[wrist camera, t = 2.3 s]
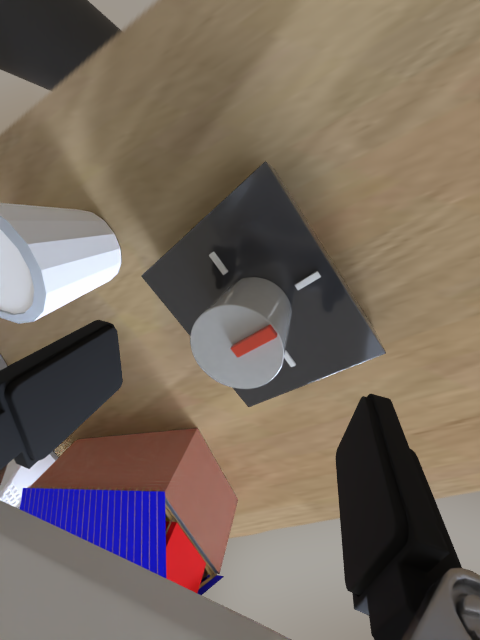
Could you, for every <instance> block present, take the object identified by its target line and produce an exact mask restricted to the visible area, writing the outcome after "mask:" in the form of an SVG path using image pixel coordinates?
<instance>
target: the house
mask: <svg viewBox="0 0 480 640" xmlns="http://www.w3.org/2000/svg"><path fill="white" fill-rule="evenodd" d="M237 502H238V499H237V497H236V495H235V494H234V492H233V490H232V488H231V486H230V485H229V483H228V481H227V479H226V478H225V476H224V474H223V472H222V471H221V469H220V467H219V465H218V463H217V462H216V460H215V458H214V456H213V455H212V453H211V451H210V449H209V448H208V446H207V444H206V442H205V440H204V439H203V437H202V435H201V433H200V432H199V430H198V428H194V429H183V430H173V431H162V432H151V433H140V434H129V435H119V436H108V437H97V438H86V439H77V440H76V441H75V442H74V443H73V444H72V445H71V446H70V447H69V448H68V449H67V450H66V451H65V452H64V453H63V454H62V455H61V456H60V457H59V458H58V459H57V460H56V461H55V462H54V463H53V464H52V465H51V466H50V467H49V468H48V469H47V470H46V471H45V472H44V473H43V474H42V475H41V476H40V477H39V478H38V479H37V480H36V481H35V482H34V483H33V484H32V485H31V486H29V487H28V488H23V491H22V497H21V504H20V510H22V511H24V512H27V513H29V514H31V515H33V516H35V517H37V518H39V519H42V520H44V521H46V522H48V523H50V524H52V525H54V526H56V527H58V528H61V529H63V530H65V531H67V532H69V533H71V534H73V535H75V536H78V537H80V538H82V539H84V540H86V541H88V542H90V543H92V544H95V545H97V546H99V547H101V548H103V549H105V550H107V551H109V552H111V553H114V554H116V555H118V556H120V557H122V558H124V559H126V560H128V561H130V562H133V563H135V564H137V565H139V566H141V567H143V568H145V569H147V570H149V571H151V572H154V573H156V574H158V575H160V576H162V577H164V578H166V579H168V580H170V581H172V582H174V583H177V584H179V585H181V586H183V587H185V588H187V589H189V590H191V591H193V592H195V593H197V594H199V595H202V594H203V593H205V592H206V591H207V590H208V589H209V588H211V587H212V586H213V585H214V584H215V583H217V582H218V581H219V580H220V579H221V578H223V576H218V575H217V574H219V573H220V570H221V566H222V561H223V557H224V554H225V550H226V546H227V542H228V538H229V534H230V530H231V526H232V522H233V518H234V514H235V510H236V506H237Z"/></svg>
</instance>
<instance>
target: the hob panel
mask: <svg viewBox="0 0 480 640" xmlns="http://www.w3.org/2000/svg"><path fill="white" fill-rule="evenodd" d="M142 277H143V279H144V280H145V281H146V282H147V284H148V285H149V286H150V287H151V288H152V290H153V291H154V292H155V293H156V295H157V296H158V297H159V298H160V299H161V301H162V302H163V303H164V304H165V306H166V307H167V308H168V309H169V311H170V312H171V313H172V314H173V315H174V317H175V318H176V319H177V320H178V322H179V323H180V324H181V325H182V326H183V328H184V329H185V330H186V331H187V333H188V334H189V335H190V336H191V331H192V327H193V325H194V323H195V321H196V320H197V318H198V317H199V316H200V315H201V314H202V313H203V312H204V311H205V310H206V309H207V308H208V307H209V306H210V305H211V304H212V303H213V302H214V301H215V300H216V299H217V298H218V297H219V296H220V295H221V294H222V293H223V292H224V291H225V290H226V289H227V288H228V287H229V286H230V285H232V284H233V283H234V282H236V281H238V280H240V279H243V278H249V277H257V278H263V279H266V280H269V281H271V282H273V283H274V284H276V285H277V286H278V287H280V288H281V289H282V290H283V292H284V293H285V294H286V296H287V298H288V300H289V302H290V305H291V310H292V318H291V323H290V329H289V334H288V339H287V344H286V350H285V355H284V360H283V364H282V367H281V369H280V371H279V372H278V374H277V375H276V376H275V377H274V378H273V379H272V380H271V381H269V382H268V383H266V384H264V385H262V386H259V387H256V388H251V389H239V388H233V387H232V388H233V389H234V390H235V391H236V393H237V394H238V395H239V396H240V397H241V399H242V400H243V401H244V402H245V404H246V405H247V406H248V407H251V406H253V405H256V404H258V403H261V402H263V401H266V400H268V399H271V398H273V397H276V396H279V395H281V394H284V393H286V392H289V391H291V390H294V389H296V388H299V387H302V386H304V385H307V384H309V383H312V382H314V381H317V380H319V379H322V378H324V377H327V376H330V375H332V374H335V373H337V372H340V371H342V370H345V369H347V368H350V367H352V366H355V365H358V364H360V363H363V362H365V361H368V360H370V359H373V358H375V357H378V356H380V355H383V354H385V353H386V352H385V350H384V348H383V346H382V344H381V342H380V339H379V337H378V335H377V333H376V331H375V329H374V328H373V326H372V324H371V323H370V321H369V320H368V318H367V316H366V315H365V313H364V312H363V310H362V308H361V307H360V305H359V304H358V302H357V300H356V299H355V297H354V295H353V294H352V292H351V291H350V289H349V287H348V286H347V284H346V283H345V281H344V279H343V278H342V276H341V275H340V273H339V271H338V270H337V268H336V267H335V265H334V263H333V262H332V260H331V259H330V257H329V255H328V254H327V252H326V250H325V249H324V247H323V246H322V244H321V242H320V241H319V239H318V238H317V236H316V234H315V233H314V231H313V230H312V228H311V226H310V225H309V223H308V222H307V220H306V218H305V217H304V215H303V214H302V212H301V210H300V209H299V207H298V206H297V204H296V202H295V201H294V199H293V197H292V196H291V194H290V193H289V191H288V189H287V188H286V186H285V185H284V183H283V181H282V180H281V178H280V177H279V175H278V173H277V172H276V170H275V169H274V168H273V167H272V166H271V165H270V164H268V163H267V162H266V161H265V162H264V163H263V164H262V165H261V166H260V167H258V168H257V169H256V170H255V171H254V172H253V173H252V174H251V175H250V176H249V177H248V178H247V179H246V180H244V181H243V182H242V183H241V184H240V185H239V186H238V187H237V188H236V189H235V190H234V191H233V192H231V193H230V194H229V195H228V196H227V197H226V198H225V199H224V200H223V201H222V202H221V203H220V204H219V205H217V206H216V207H215V208H214V209H213V210H212V211H211V212H210V213H209V214H208V215H207V216H206V217H204V218H203V219H202V220H201V221H200V222H199V223H198V224H197V225H196V226H195V227H194V228H193V229H192V230H190V231H189V232H188V233H187V234H186V235H185V236H184V237H183V238H182V239H181V240H180V241H179V242H177V243H176V244H175V245H174V246H173V247H172V248H171V249H170V250H169V251H168V252H167V253H166V254H164V255H163V256H162V257H161V258H160V259H159V260H158V261H157V262H156V263H155V264H154V265H153V266H152V267H150V268H149V269H148V270H147V271H146V272H145V273H144V274H143V275H142Z"/></svg>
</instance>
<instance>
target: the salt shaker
mask: <svg viewBox="0 0 480 640" xmlns="http://www.w3.org/2000/svg"><path fill="white" fill-rule="evenodd" d="M6 367H8V366H7V365H6V363H5V361H4V359H3V358H2V356H1V355H0V370H2V369H4V368H6Z"/></svg>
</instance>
